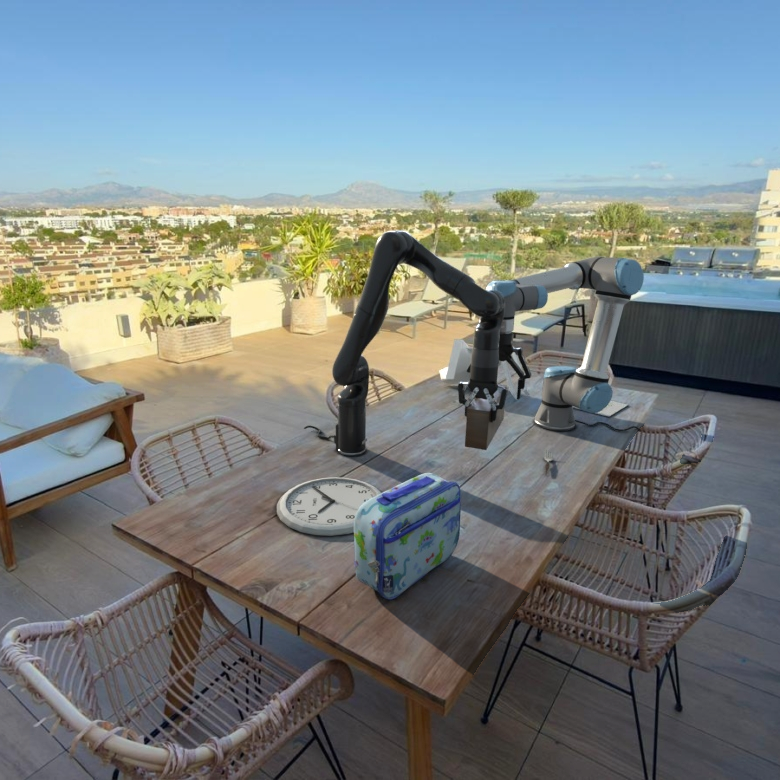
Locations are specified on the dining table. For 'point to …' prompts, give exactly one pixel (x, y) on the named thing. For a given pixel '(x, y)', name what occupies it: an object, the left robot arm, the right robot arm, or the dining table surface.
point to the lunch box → (406, 533)
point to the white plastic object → (463, 360)
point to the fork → (548, 460)
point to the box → (482, 422)
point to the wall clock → (324, 505)
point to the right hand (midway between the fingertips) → (497, 396)
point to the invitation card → (611, 408)
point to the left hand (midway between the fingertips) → (480, 419)
